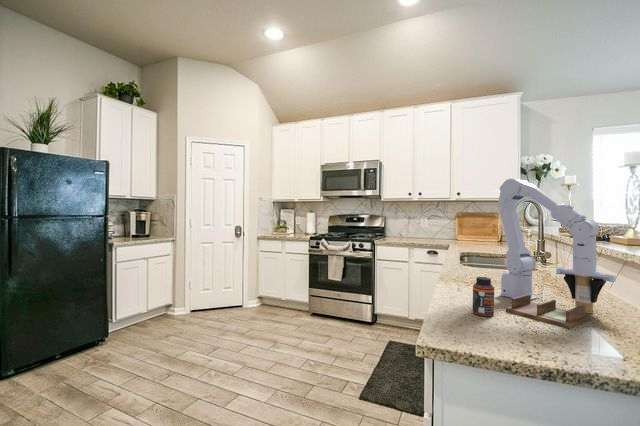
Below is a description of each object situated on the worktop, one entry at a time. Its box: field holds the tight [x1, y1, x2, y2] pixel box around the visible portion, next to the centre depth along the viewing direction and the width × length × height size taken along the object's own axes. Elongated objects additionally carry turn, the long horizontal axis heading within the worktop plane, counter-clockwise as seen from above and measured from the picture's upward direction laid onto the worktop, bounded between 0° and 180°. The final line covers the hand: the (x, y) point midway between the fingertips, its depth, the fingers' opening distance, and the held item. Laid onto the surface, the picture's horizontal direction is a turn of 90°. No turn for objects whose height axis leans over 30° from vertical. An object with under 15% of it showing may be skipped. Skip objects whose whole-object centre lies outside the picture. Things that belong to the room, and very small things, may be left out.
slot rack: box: [505, 294, 592, 329], centre depth 96 cm, size 17×14×4 cm
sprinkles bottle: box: [574, 274, 595, 315], centre depth 99 cm, size 5×5×14 cm
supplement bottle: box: [472, 276, 495, 318], centre depth 96 cm, size 6×6×11 cm
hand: (584, 300), depth 99 cm, fingers closed on sprinkles bottle, 4 cm apart
